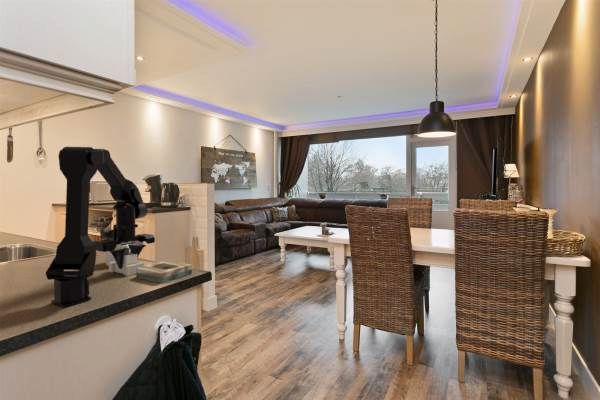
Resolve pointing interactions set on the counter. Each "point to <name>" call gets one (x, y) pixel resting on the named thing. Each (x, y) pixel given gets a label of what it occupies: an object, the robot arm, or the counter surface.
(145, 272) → the port block
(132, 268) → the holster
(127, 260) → the plug
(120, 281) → the counter surface
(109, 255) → the medicine bottle
